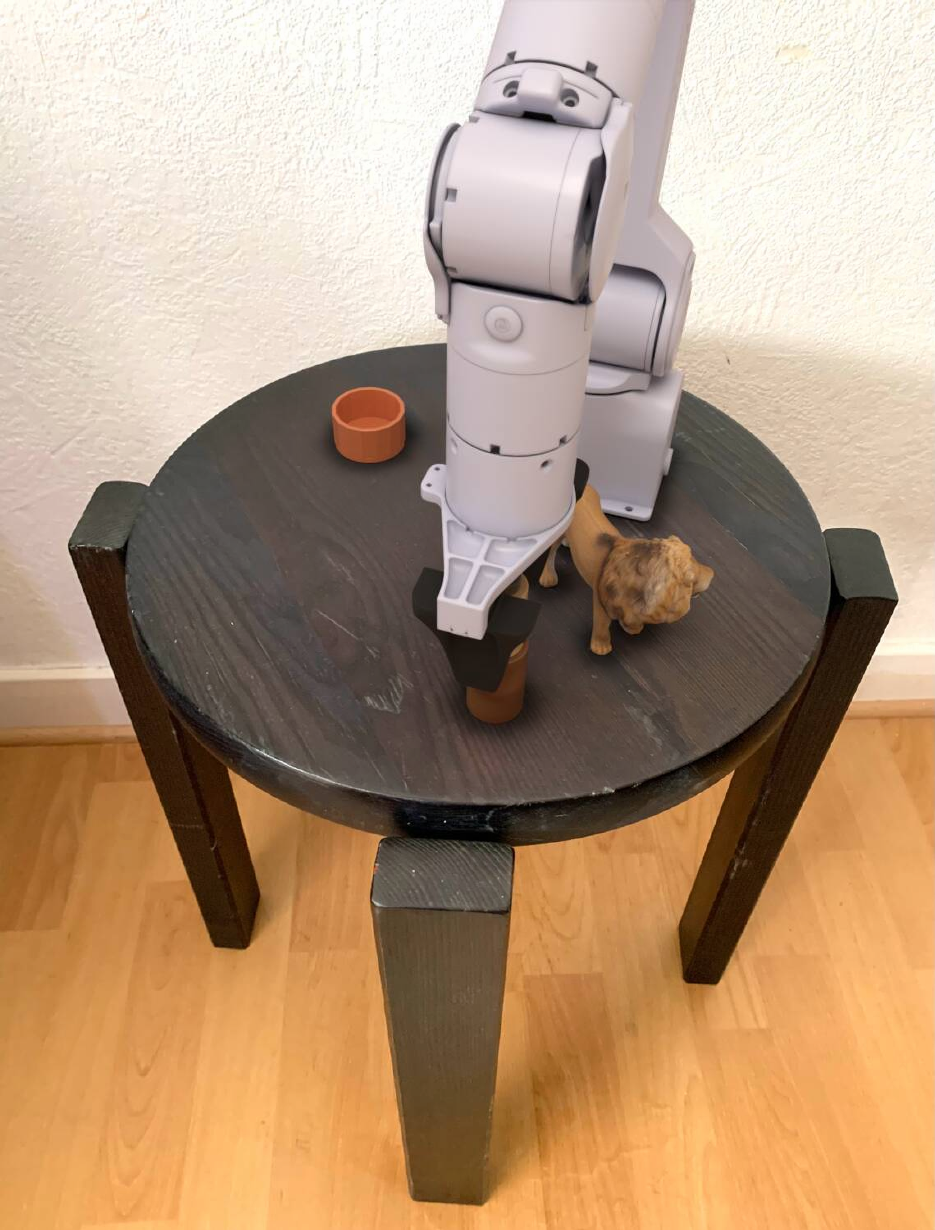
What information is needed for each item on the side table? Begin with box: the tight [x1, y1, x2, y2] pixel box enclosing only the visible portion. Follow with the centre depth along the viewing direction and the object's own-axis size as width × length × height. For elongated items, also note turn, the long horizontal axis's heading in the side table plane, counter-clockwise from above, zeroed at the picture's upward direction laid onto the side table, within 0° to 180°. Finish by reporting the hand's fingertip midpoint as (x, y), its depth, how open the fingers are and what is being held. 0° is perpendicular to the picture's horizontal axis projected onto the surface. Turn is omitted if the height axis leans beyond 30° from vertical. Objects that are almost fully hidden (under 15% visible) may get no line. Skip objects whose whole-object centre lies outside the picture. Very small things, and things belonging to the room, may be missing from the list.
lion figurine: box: [538, 484, 714, 656], centre depth 61 cm, size 15×5×9 cm, turn 33°
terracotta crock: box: [331, 386, 407, 464], centre depth 73 cm, size 5×5×3 cm
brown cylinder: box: [465, 637, 530, 725], centre depth 57 cm, size 3×3×5 cm
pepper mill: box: [506, 573, 530, 657], centre depth 53 cm, size 3×3×5 cm
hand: (499, 628), depth 54 cm, fingers open, 7 cm apart
